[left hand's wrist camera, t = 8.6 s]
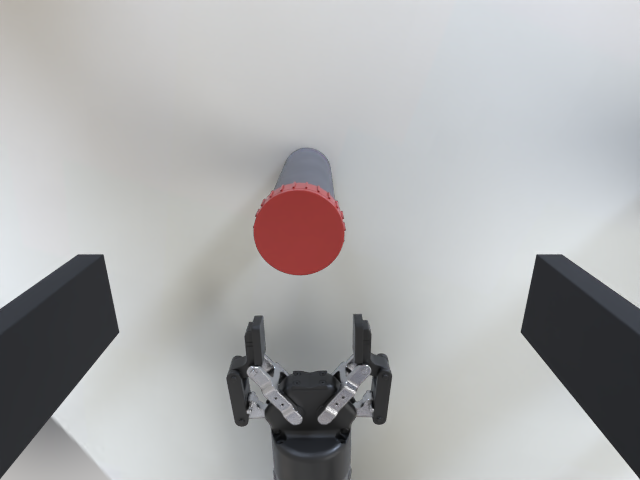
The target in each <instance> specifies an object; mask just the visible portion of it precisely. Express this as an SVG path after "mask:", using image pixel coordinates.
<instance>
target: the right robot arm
mask: <svg viewBox="0 0 640 480" xmlns="http://www.w3.org/2000/svg"><path fill="white" fill-rule="evenodd" d="M245 346H246V356H244V357H242V356H235V357H234V358H233V359H232V362H231V365H230V368H229V371H228V375H227V384H228V389H229V394H230V399H231V404H232V409H233V415H234V420H235V423H236V424H237V425H238V426H246V425H247V424H248V421H249V419H250V418H266V420H267V421H268V422H269V424H270V426H271V432H272V446H273V459H274V470H273V474H274V480H350V477H351V466H350V452H351V424H352V422H353V421H354V419H355V418H356V417H372V418H373V422H374V423H375V424H378V425H380V424H383V423H385V421H386V417H387V410H388V402H389V395H390V388H391V380H392V374H391V371H390V368H389V364H388V358H387V356H386V355H385V354H378V355H374V354H372V353H371V331H370V326H369V323H368V321H367V320H363V319H362V314H353V355H352V356H351V357H350V358H349V359H348V360H347V361H346V362H342V363H341V364H340V365H339V366H338V367H337V368H336V369H335V371H334V372H333V373H332V374H328V373H327V371H316V372H312V373H308V372H304V371H293V374H291V375H290V374H289V373H288V372H287V371H286V370H285V369H284V368H283V367H282V366H281V365H280V364H279V363H274V362H273V361H272V360H271V359H270V358H269V357H268V356H267V355H266V354H265V350H266V347H265V334H264V320H263V316H254V320H253V322H249V324H248V327H247V330H246V333H245ZM369 375H372V376H373V377H372V386H371V391H370V390H367V391H366V394H364V396H363V399H362V400H360V401H358V402H356V401H355V399H354V398H353V396H354V395H355V394H356V392H357V388H358V386H359V385H360V384H361V383H362V382H363V381H364V380H365V379H366V378H367V377H368V376H369ZM248 377H250V378H251V379H252V380H253V381H254V382H255V383H256V384H257V385H258V386H259V387H260V388H261V390H262V393H263V395H264V396H265V397H266V398H267V401H266V403H263V402H261V401H259V399H258V397H257V396H256V395H255V392H253V391H252V392H250V386H249V380H248Z"/></svg>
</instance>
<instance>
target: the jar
mask: <svg viewBox="0 0 640 480" xmlns="http://www.w3.org/2000/svg"><path fill="white" fill-rule="evenodd" d="M294 182H296V183H306V182H308V184H312V185H315V186H318V185H319V186H320V188H322V189H323V190H325V191H326V192H327V193H328V192H330V195H331V196H332V197H333V198H334V190H333V183H332V175H331V168H330V164H329V162H328V160H327V158H326V157H325V156H324V155H323V154H322V153H321V152H319V151H317V150H315V149H311V148H303V149H299V150H297V151H295V152H293V153H292V154H291V155H290V156H289V157H288V159H287V160H286V163H285V165H284V167H283V170H282V172H281V174H280V177H279V179H278V182H277V184H276V186H275V189H274V191H275V190H276V189H278V188H280V187H281V186H282V185H283V184H284V185H287V184H292V183H294ZM334 200H335V198H334Z"/></svg>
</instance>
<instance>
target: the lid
mask: <svg viewBox="0 0 640 480" xmlns="http://www.w3.org/2000/svg"><path fill="white" fill-rule="evenodd" d="M255 217H256V220H255V223H254V226H253V228H254V240H255V244H256V247H257V249H258V251H259V253H260V254H261V256H262V257H263V258H264V260H265V261H266V262H267V263H268V264H270V265H271V266H272V267H274V268H275V269H277V270H279V271H281V272H284V273H287V274H292V275H308V274H312V273H315V272H318V271H320V270H322V269H324V268H326V267H327V266H328V265H330V264H331V263H332V262H333V261H334V260H335V259H336V257H337V256H338V254H339V252H340V251H341V248H342V246H343V242H344V231H346V229H345V223H344V222H343V219H344V217H343V212H342V211H340V208H339V206H338V201H335V200H334V198H333V197H332V196H331V195H330V192H328V193H327V192H326V191H325V190H323V189H322V188H320V186H319V185H318V186H315V185H312V184H308V182H306V183H296V182H294V183H292V184H287V185H284V184H283V185H282V186H281V187H280V188H278V189H276V190H275V191H273V190H272V191H271V193H270V195H269V196H268V197H267V198H266V199H264V200H263V202H262V204H261V208H260V209H258V211H257V213H256V215H255Z"/></svg>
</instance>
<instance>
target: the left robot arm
mask: <svg viewBox="0 0 640 480" xmlns="http://www.w3.org/2000/svg"><path fill="white" fill-rule="evenodd" d="M118 333H119V329H118V324H117V319H116V314H115V309H114V304H113V299H112V294H111V289H110V285H109V280H108V275H107V270H106V265H105V260H104V255H77V256H75V257H74V258H72V259H71V260H70V261H68V262H67V263H65V264H64V265H62V266H61V267H60V268H58V269H57V270H55V271H54V272H52V273H51V274H50V275H48V276H47V277H45V278H44V279H42V280H41V281H40V282H38V283H37V284H35V285H34V286H32V287H31V288H30V289H28V290H27V291H25V292H24V293H22V294H21V295H20V296H18V297H17V298H15V299H14V300H12V301H11V302H10V303H8V304H7V305H5V306H4V307H2V308H1V309H0V479H1V477H2V476H3V475H4V474H5V472H6V471H7V470H8V469H9V467H10V466H11V465H12V464H13V463H14V461H15V460H16V459H17V458H18V456H19V455H20V454H21V453H22V451H23V450H24V449H25V448H26V447H27V445H28V444H29V443H30V442H31V440H32V439H33V438H34V437H35V435H36V434H37V433H38V432H39V431H40V429H41V428H42V427H43V426H44V424H45V423H46V422H47V421H48V419H49V418H50V417H51V416H52V415H53V413H54V412H55V411H56V410H57V408H58V407H59V406H60V405H61V403H62V402H63V401H64V400H65V399H66V397H67V396H68V395H69V394H70V392H71V391H72V390H73V389H74V387H75V386H76V385H77V384H78V382H79V381H80V380H81V379H82V378H83V376H84V375H85V374H86V373H87V371H88V370H89V369H90V368H91V366H92V365H93V364H94V363H95V362H96V360H97V359H98V358H99V357H100V355H101V354H102V353H103V352H104V350H105V349H106V348H107V347H108V346H109V344H110V343H111V342H112V341H113V339H114V338H115V337H116V336H117V334H118ZM521 333H522V334H523V336H524V337H525V338H526V339H527V341H528V342H529V343H530V344H531V346H532V347H533V348H534V349H535V350H536V352H537V353H538V354H539V355H540V357H541V358H542V359H543V360H544V362H545V363H546V364H547V365H548V366H549V368H550V369H551V370H552V371H553V373H554V374H555V375H556V376H557V378H558V379H559V380H560V381H561V382H562V384H563V385H564V386H565V387H566V389H567V390H568V391H569V392H570V394H571V395H572V396H573V397H574V399H575V400H576V401H577V402H578V403H579V405H580V406H581V407H582V408H583V410H584V411H585V412H586V413H587V415H588V416H589V417H590V418H591V419H592V421H593V422H594V423H595V424H596V426H597V427H598V428H599V429H600V431H601V432H602V433H603V434H604V435H605V437H606V438H607V439H608V440H609V442H610V443H611V444H612V445H613V447H614V448H615V449H616V450H617V451H618V453H619V454H620V455H621V456H622V458H623V459H624V460H625V461H626V463H627V464H628V465H629V466H630V467H631V469H632V470H633V471H634V472H635V474H636V475H637V476H638V477H639V479H640V309H639V308H638V307H636V306H635V305H633V304H632V303H630V302H629V301H628V300H626V299H625V298H623V297H622V296H620V295H619V294H618V293H616V292H615V291H613V290H612V289H610V288H609V287H608V286H606V285H605V284H603V283H602V282H600V281H599V280H598V279H596V278H595V277H593V276H592V275H590V274H589V273H588V272H586V271H585V270H583V269H582V268H580V267H579V266H578V265H576V264H575V263H573V262H572V261H570V260H569V259H568V258H566V257H565V256H563V255H536V260H535V265H534V270H533V275H532V280H531V285H530V289H529V294H528V299H527V304H526V309H525V314H524V319H523V324H522V329H521Z"/></svg>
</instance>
